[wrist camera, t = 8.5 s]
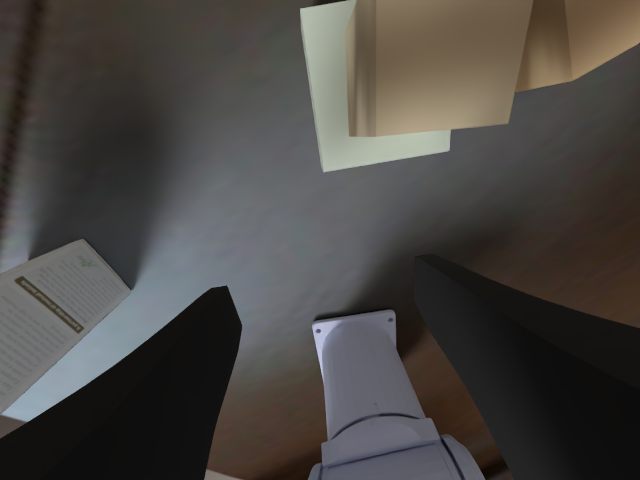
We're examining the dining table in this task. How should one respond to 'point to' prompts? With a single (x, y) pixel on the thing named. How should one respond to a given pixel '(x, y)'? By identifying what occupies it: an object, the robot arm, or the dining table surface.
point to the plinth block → (331, 98)
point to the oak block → (575, 38)
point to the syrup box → (51, 311)
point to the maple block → (432, 64)
